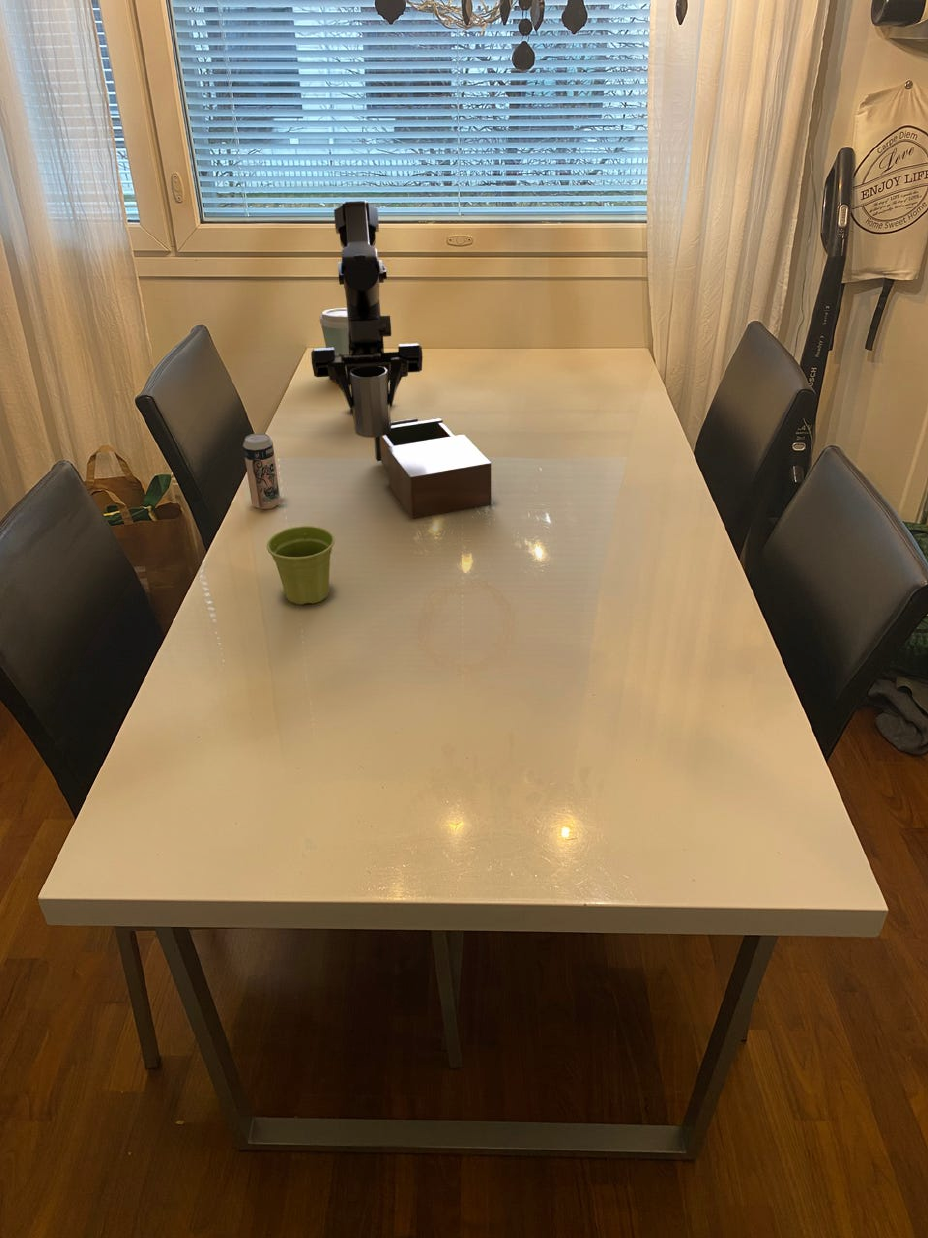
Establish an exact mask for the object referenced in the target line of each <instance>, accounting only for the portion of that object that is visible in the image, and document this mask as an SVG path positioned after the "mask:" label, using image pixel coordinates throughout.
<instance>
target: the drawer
mask: <svg viewBox="0 0 928 1238" xmlns="http://www.w3.org/2000/svg"><path fill="white" fill-rule="evenodd" d="M443 422H444V421H443V419H442V418H441V417H437V418H432V419H426V420H425V419H424V420H419V419H418V417H413V418H407V419H401V420H395V421H391V431H390V432H389V433H388V434H387V435H384V436H381V437H375V438H373V442H374V455H375V460H376V462H380V463H381V465H382V466H383V467H384V469H385V470H386V472H387V473H388V474H389V470H388V455H387V447H390V446H397V445H403V444H409V443H415V442H421V441H428V440H434V439H440V438H446V437H452V436H455V434H454V433H453V432H452V431H451V430H450V429H449V428H448V427H447V426H446V424H444V423H443Z"/></svg>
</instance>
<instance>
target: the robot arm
mask: <svg viewBox="0 0 928 1238" xmlns="http://www.w3.org/2000/svg"><path fill="white" fill-rule="evenodd" d="M369 203H370V202H369V201H366V200H362V199H361V200H345V201H344V202H341V205H340V206H339V207H336V208H334V210H333V214H334V229H335V234H336V235H339V242H340V246H341V247H342V248H343V249H341V261H338V263H337V268H338V269H337V270H338V282H339V285H340V286H341V285H343V288H344V294H345V295H344V296H345V300H346V302H345V303H346V308H347V316H348V330H349V334H348V338H349V345H348V348H349V355H342V354H335V351H334V348H326V347H318V348H313V349H312V351H311V352H310V359H311V365H312V371H313V376H314V377H316V378H328V379H329V381H331V382H335V383H336V384H337V386H338V387H339V388H340V390H341V392H342V393H343V396H344V398H345V400H346V402H347V403H346V404H347V405H348V407H349V412H350V413H352V414H353V407H352V396H351V384H350V373H349V372H350V371H351V370H352V369H353V368H356V367H358V366H365V365H378V366H382V367H385V368H386V369H387V370H388V384H389V404H390V408H391V407H393V405H394V401H395V397H396V393H397V390H398V388H399V385H400V383H401V381H402V380H403V378H406V377H408V376H409V374H410V373H420V372H422V371H423V359H424V358H423V347H422V345H420V344H419V342H417V343H416V342H415V343H413V342H412V343H398V346H397V347H398V350H397V351H393V352H390V351H389V352H385V348H384V347H385V345H384V344H385V343H384V338H387V337H388V338H389V337H391V336H392V323H391V315H381V305H380V304H381V303H380V284H382V283H385V282H384V280H387V279H388V276H387V267H386V266H385V265H384V263H383V260H382V259H379V258H378V249H377V248H376V247H375V245H376V244H377V243H376V242H377V239H376V238H377V236H376V233H379V232H380V227H379V225H380V223H379V211H378V207H376V206H374V205H372V204H369ZM345 367H347V373H346V368H345Z"/></svg>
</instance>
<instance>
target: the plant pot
mask: <svg viewBox="0 0 928 1238" xmlns="http://www.w3.org/2000/svg"><path fill="white" fill-rule="evenodd" d="M334 545H335V535H334V534H333V533H332V532H330V531H329V530H327V529H326V528H322V527H318V526H311V525H310V526H295V527H290V528H287V529H283V530H281V531H279V532H277V533H275V534H273V535H272V536H271V537H269V539H268V540H267V542H266V550H267V552H268V553H269V555H270V556H271V558H272V560H273V561H274V562H275V565H276V568H277V571H278V574H279V577H280V580H281V584H282V587H283V590H284V595H285V597H286V599H287V600H288V601H289V602H290V603H292V604H296V605H302V606H303V605H305V604H312V605H313V604H317V603H319V602H322V601H323V600H325V599H326V598H327V597H328V595H329V592H330V569H331V568H330V565H331V563H330V562H331V554H332V551H333V547H334Z"/></svg>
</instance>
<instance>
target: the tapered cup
mask: <svg viewBox="0 0 928 1238" xmlns="http://www.w3.org/2000/svg"><path fill="white" fill-rule="evenodd" d="M349 373H350V384H351V385H350V392H351V397H352V407H353V413H352V418H353V430H354V433H355V434H356V436H358V437H361V438H369V439H371V438H372V439H374V438H375V437H381V436H384V435H387V434H388V433H389V432H390V431H391V422H392V417H391V407H390V404H389V387H390V383H388V370H387V369H386V368H385V367H382V366H378V365H365V366H358V367H356V368H353V369H352V370H351V371H350V372H349Z"/></svg>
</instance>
